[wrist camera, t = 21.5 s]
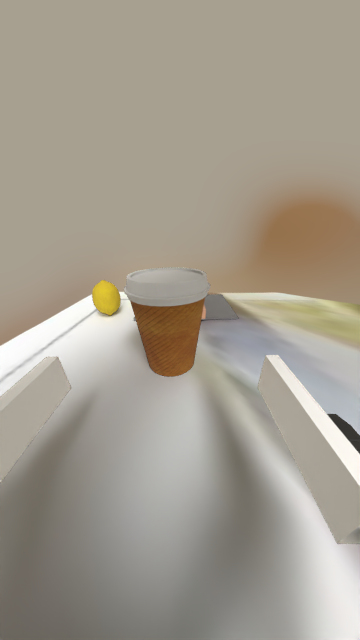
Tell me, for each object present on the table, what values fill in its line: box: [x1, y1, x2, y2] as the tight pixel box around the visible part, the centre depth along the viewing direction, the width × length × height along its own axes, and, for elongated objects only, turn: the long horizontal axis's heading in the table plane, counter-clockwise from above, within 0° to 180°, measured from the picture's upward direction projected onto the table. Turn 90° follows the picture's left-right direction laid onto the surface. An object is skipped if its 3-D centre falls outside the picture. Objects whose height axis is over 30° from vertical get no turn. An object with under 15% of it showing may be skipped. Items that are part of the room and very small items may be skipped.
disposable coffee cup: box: [124, 268, 210, 377], centre depth 21 cm, size 10×10×12 cm
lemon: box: [92, 280, 120, 315], centre depth 36 cm, size 6×6×8 cm
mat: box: [134, 295, 238, 321], centre depth 42 cm, size 22×16×1 cm
